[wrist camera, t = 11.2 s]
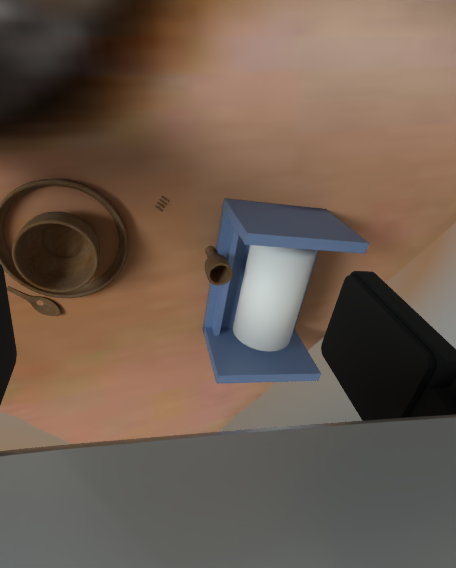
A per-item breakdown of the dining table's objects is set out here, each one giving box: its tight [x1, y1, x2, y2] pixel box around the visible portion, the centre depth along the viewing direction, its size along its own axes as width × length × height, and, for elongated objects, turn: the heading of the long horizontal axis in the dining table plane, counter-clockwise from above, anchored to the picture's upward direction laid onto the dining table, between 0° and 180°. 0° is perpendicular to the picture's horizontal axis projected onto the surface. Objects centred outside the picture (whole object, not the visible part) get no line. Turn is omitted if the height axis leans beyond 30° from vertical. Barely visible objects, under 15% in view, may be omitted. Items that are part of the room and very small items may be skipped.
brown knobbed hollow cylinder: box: [0, 179, 232, 316], centre depth 37 cm, size 18×20×6 cm
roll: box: [233, 245, 317, 351], centre depth 40 cm, size 12×6×6 cm, turn 170°
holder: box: [203, 198, 369, 383], centre depth 39 cm, size 16×11×9 cm
